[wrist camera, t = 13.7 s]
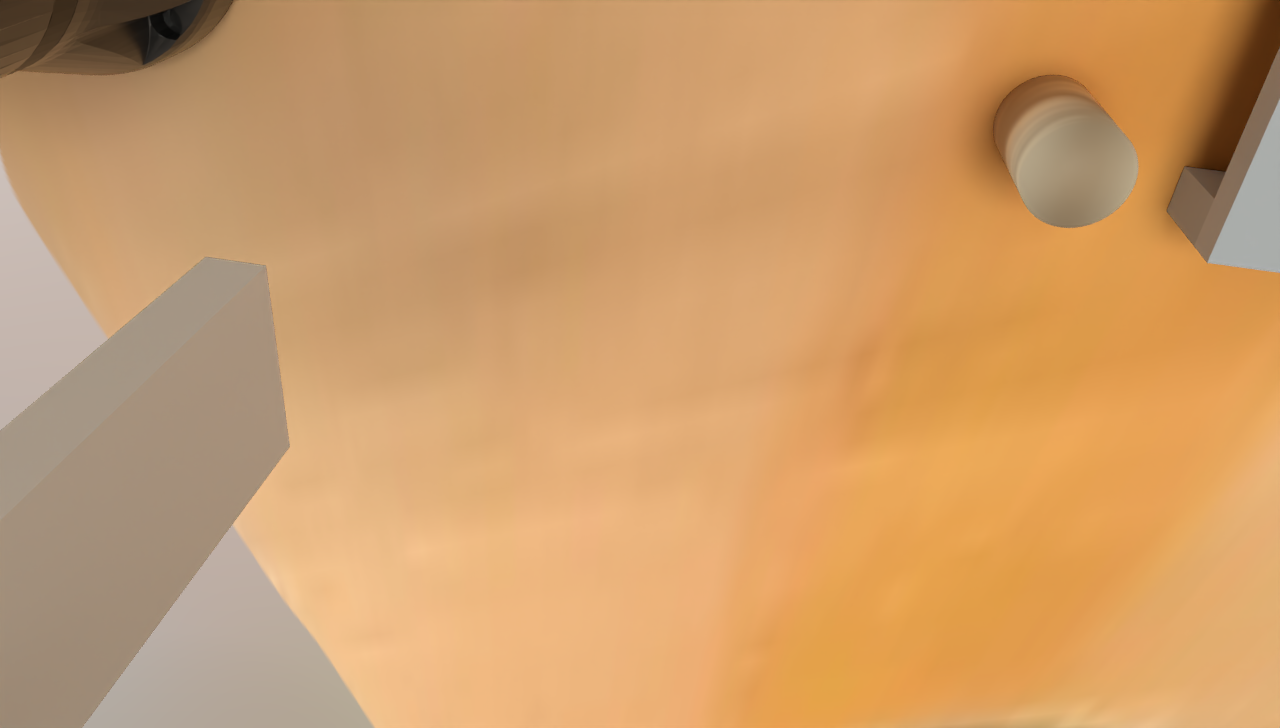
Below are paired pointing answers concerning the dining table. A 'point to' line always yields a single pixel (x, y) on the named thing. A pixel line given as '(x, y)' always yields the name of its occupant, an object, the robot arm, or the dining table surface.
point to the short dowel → (1064, 152)
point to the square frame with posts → (1238, 193)
